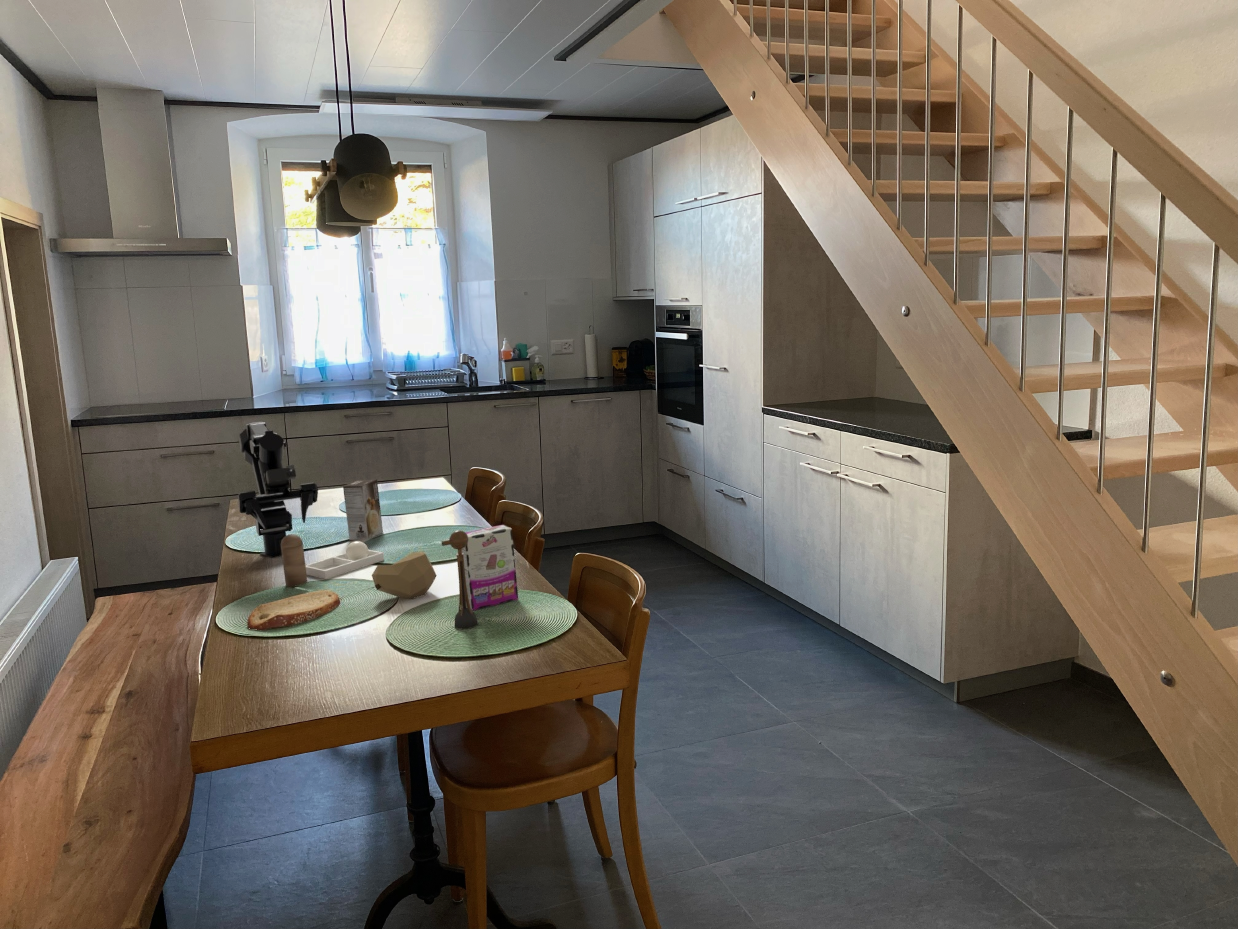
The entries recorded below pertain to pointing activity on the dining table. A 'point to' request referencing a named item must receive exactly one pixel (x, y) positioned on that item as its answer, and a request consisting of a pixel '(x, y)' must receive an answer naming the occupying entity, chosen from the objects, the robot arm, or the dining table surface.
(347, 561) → the white divided tray
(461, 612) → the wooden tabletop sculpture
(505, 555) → the candy bar box
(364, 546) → the cream white ball
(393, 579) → the low-poly potato
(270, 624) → the slice of bread
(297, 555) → the brown domed cylinder
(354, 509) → the coffee box
